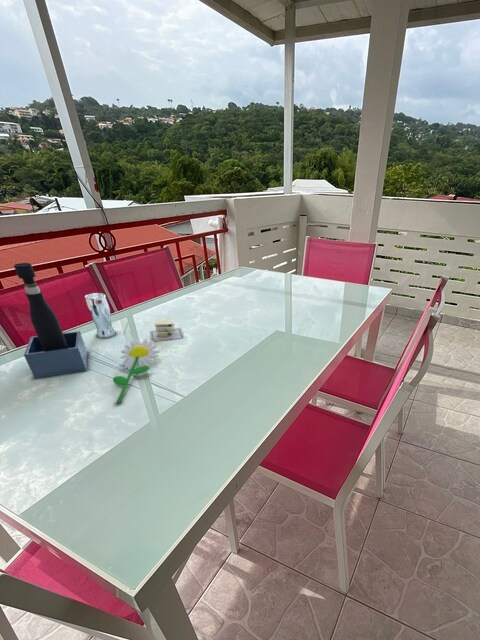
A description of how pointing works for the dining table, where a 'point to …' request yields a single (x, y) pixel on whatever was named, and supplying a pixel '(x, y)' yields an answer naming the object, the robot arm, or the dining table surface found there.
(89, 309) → the beer glass
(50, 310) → the wine bottle
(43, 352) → the blue grey open box
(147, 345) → the decorative flower
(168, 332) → the stacked layers on plate
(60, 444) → the dining table surface
